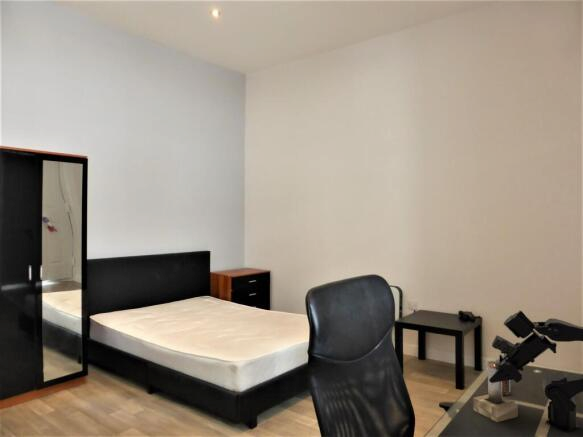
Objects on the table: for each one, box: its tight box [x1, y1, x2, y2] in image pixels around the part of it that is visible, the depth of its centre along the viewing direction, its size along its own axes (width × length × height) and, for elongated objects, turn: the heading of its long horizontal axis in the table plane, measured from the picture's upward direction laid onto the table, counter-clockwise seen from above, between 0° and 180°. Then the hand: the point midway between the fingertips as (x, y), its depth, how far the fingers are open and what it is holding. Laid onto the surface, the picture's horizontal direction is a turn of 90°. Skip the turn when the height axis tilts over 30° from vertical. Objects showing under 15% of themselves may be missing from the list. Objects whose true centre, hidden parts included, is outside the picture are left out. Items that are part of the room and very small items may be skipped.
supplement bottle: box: [495, 359, 512, 396], centre depth 150 cm, size 6×6×11 cm
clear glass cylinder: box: [486, 360, 503, 405], centre depth 133 cm, size 4×4×12 cm
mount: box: [472, 394, 519, 423], centre depth 133 cm, size 9×9×4 cm
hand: (490, 379), depth 134 cm, fingers closed on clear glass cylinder, 4 cm apart
